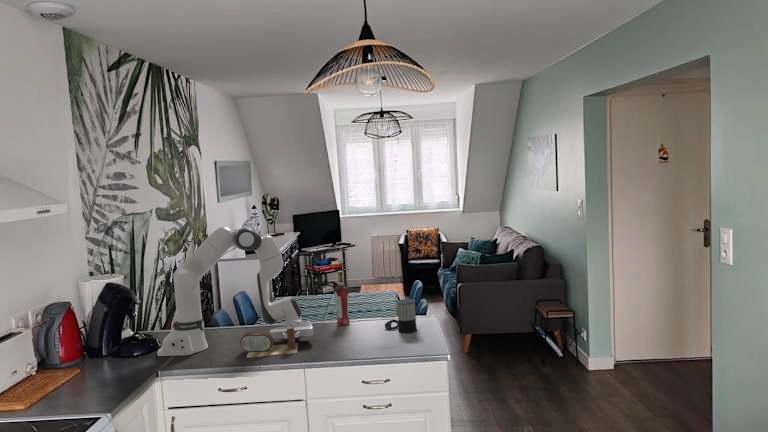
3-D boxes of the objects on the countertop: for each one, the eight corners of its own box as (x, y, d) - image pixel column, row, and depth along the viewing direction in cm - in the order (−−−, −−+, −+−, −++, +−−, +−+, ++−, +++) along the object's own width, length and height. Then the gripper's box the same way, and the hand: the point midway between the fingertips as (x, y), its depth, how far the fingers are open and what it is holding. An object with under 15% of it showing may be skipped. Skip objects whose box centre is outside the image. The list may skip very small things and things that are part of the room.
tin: (274, 349, 261) (273, 331, 261) (272, 351, 258) (271, 333, 257) (242, 350, 263) (241, 332, 262) (240, 352, 260) (238, 334, 259)
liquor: (334, 324, 300) (330, 271, 297) (347, 321, 303) (343, 269, 301) (339, 327, 293) (336, 273, 291) (352, 324, 297) (349, 271, 294)
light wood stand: (246, 357, 253) (244, 335, 252) (250, 348, 267) (248, 327, 266) (296, 353, 255) (295, 331, 254) (298, 343, 269) (296, 323, 268)
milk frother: (417, 333, 275) (415, 302, 274) (384, 335, 275) (382, 304, 274) (416, 325, 289) (414, 296, 288) (385, 326, 290) (383, 297, 288)
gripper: (269, 324, 273) (267, 331, 259) (313, 320, 275) (312, 327, 261) (270, 337, 274) (268, 345, 260) (314, 333, 276) (313, 341, 262)
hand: (290, 336), depth 261 cm, fingers closed on light wood stand, 3 cm apart
